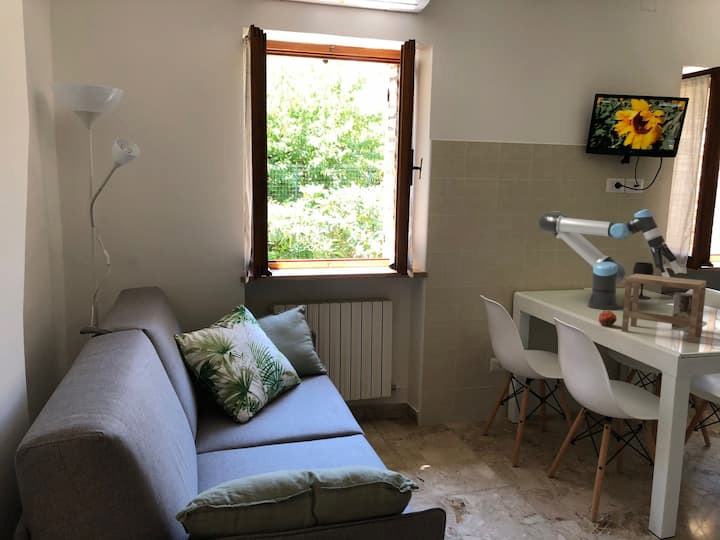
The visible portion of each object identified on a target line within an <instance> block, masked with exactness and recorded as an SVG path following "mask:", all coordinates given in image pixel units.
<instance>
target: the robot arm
mask: <svg viewBox="0 0 720 540" xmlns="http://www.w3.org/2000/svg"><path fill="white" fill-rule="evenodd" d="M633 215H634V218H632V219H629V220H627V221H625V222H615V221H614V222H612V221H611V222H610V221H601V220H592V219H591V220H589V219H582V218H571V217H568V216H567V215H566V214H565V213H563V212H561V211H558V210H553V211H547V212H544V213H542V214H541V215H540V216H539V218H538V220H537V225H538V228H539V229H540V230H541V232H543V233H547V234H549V233H550V234H551V235H553V236H554V238H556V239H561V240H563V242H565V243H566V244H567V245H568V246H569V247H570V248H571V249H572V250H574V251H575V252H576V253H577V254H578V255H579V256H580V257H581V258H582V259H584V260H585V261H586V262H587V263H588V264H589V265H590V266H591V267H592V285H591V286H592V288H591V293H590V296H589V298H588V300H587V307H589V308H592V309H598V310H605V311H610V310H611V311H612V310H617V309H619V305H620V304H619V299H618V297H617V284H619V283H621V282H622V281H623V280H624V278H626V268H625V266H624V264H622V263H621V262H618V261H616V260H615V259H613V257H611V256H610V255H604V254H603V253H602V252H601V251H600V250H599V249H598V248H596V246H594V245H593V244H592V243H591V242H590V241H589V240H588V239H586V238H585V237H584V236H583V235H591V236H592V235H593V236H599V237H600V236H603V237H610V238H615V239H619V240H624V239H627V238H628V237H630V236H632V235H634V234H637V233H639V232H642V234H643V237H644V238H645V240H646V241H647V245H648V247H649V248H651V249H650V252H651V254H652V259H653V262H654V266H655V268H657V269H659V272H660V273H661V276H664V277H671V276H670V274H669V272H668V270H667V268H666V266H665V265H664V262H663V256H664V257H665V259H666V260H667V261H669V265H670V267H671V268H672V270H673V272H674V274H675V275H677V274H680V273H681V270H680V267H679V265H678V263H677V257H676V255H675V254H674V253H673V252H672V250H671V249H670V248H669V247H668V245H667V243H665V239H664V238H663V235H661V231H660V230H661V229H660V228H659V227H658V225H657V223H656V220H655V219H654V217H653V215H652V213H651V211H650V209H648V208H646V209H645V208H644V209H642V210H640V211H638V212H635V213H634V214H633ZM582 234H583V235H582ZM663 243H664V244H663Z"/></svg>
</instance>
